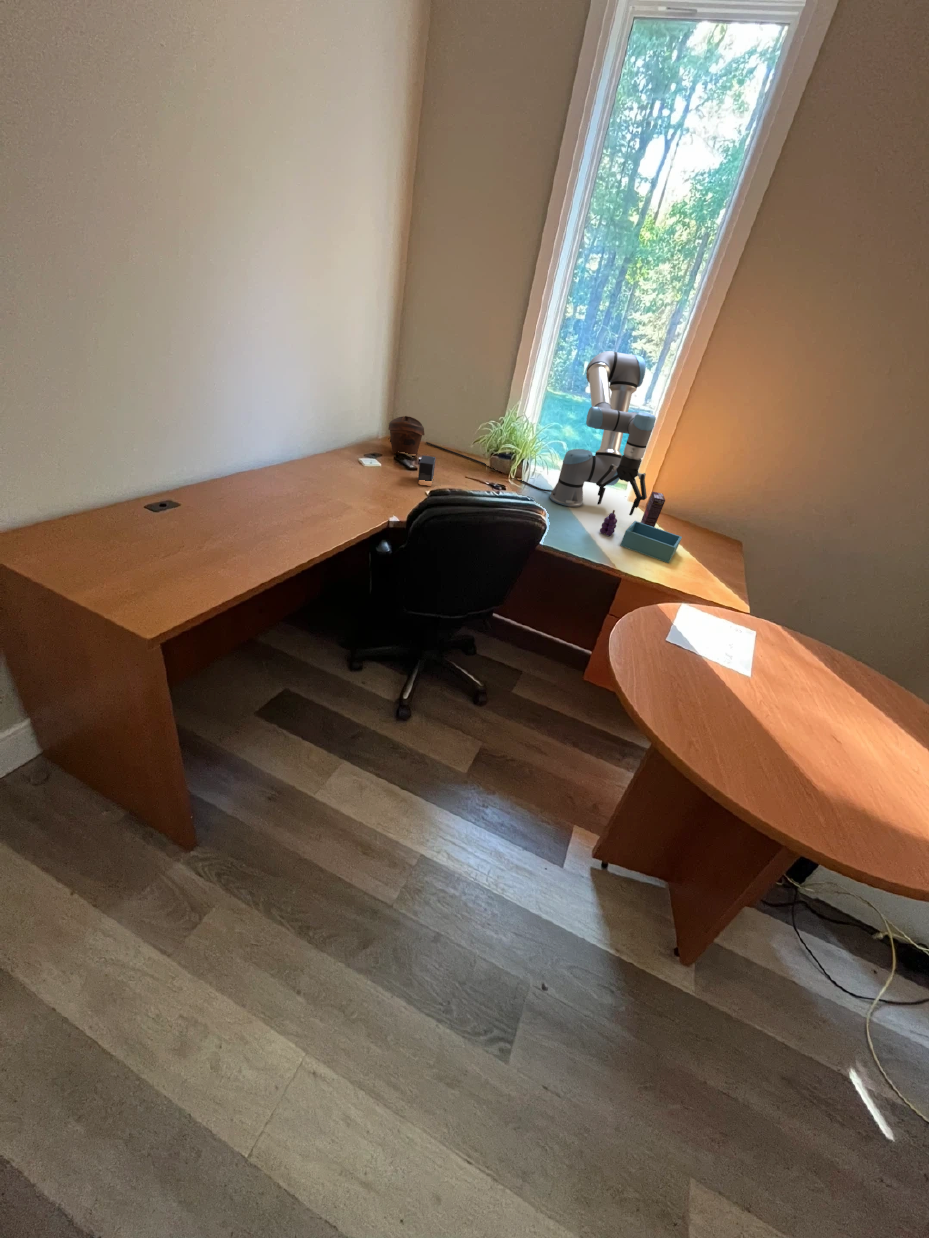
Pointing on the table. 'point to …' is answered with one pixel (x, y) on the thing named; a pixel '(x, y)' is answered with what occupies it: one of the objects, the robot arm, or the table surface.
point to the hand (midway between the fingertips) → (614, 509)
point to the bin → (651, 541)
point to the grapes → (609, 524)
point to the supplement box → (653, 509)
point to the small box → (426, 468)
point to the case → (405, 434)
